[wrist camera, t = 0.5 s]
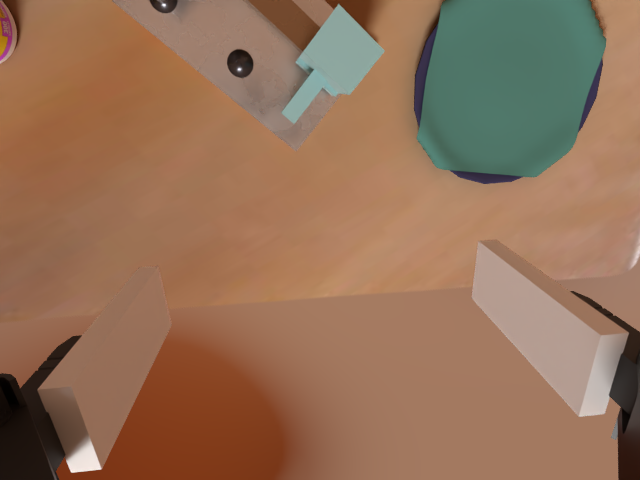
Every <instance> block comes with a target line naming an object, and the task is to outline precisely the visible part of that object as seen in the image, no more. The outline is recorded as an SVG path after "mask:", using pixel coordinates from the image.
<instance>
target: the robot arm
mask: <svg viewBox="0 0 640 480" xmlns="http://www.w3.org/2000/svg"><path fill="white" fill-rule="evenodd" d="M472 299H473V300H474V301H475V303H476V304H477V305H478V306H479V307H480V308H481V309H482V310H483V311H484V312H485V313H486V315H487V316H488V317H489V318H490V319H491V320H492V321H493V322H494V324H495V325H496V326H497V327H498V328H499V329H500V330H501V331H502V332H503V333H504V335H505V336H506V337H507V338H508V339H509V340H510V341H511V342H512V343H513V344H514V346H515V347H516V348H517V349H518V350H519V351H520V352H521V353H522V354H523V356H524V357H525V358H526V359H527V360H528V361H529V362H530V363H531V364H532V365H533V367H534V368H535V369H536V370H537V371H538V372H539V373H540V374H541V375H542V376H543V377H544V379H545V380H546V381H547V382H548V383H549V384H550V385H551V386H552V388H553V389H554V390H555V391H556V392H557V393H558V394H559V395H560V396H561V398H562V399H563V400H565V402H566V403H567V404H568V405H569V406H570V407H571V409H572V410H573V411H574V412H575V413H576V414H577V415H578V416H579V417H581V416H590V415H599V414H605V410H606V407H607V404H608V401H609V397H611V398H612V399H613V400H614V401H615V402H616V403H617V404H618V405H619V406H620V407H621V408H620V411H619V415H618V418H617V421H616V424H615V427H614V430H613V433H612V436H611V438H613V439H615V440H616V438H617V436H618V478H619V480H640V332H639V331H637V330H636V329H634V328H633V327H631V326H630V325H628V324H627V323H626V322H624V321H622V320H621V319H620V318H618V317H617V316H613V314H612V313H611V312H609V311H607V310H606V309H603V308H602V306H600V305H599V304H597V303H596V302H595V301H593V300H592V299H590V298H588V297H585V296H583V295H581V294H578V293H576V292H574V291H568V290H567V289H565V288H564V287H563V286H561V285H560V284H559V283H557V282H556V281H554V280H553V279H551V278H550V277H549V276H547V275H546V274H544V273H543V272H541V271H540V270H539V269H537V268H536V267H534V266H533V265H531V264H530V263H529V262H527V261H526V260H524V259H523V258H521V257H520V256H519V255H517V254H516V253H514V252H513V251H511V250H510V249H509V248H507V247H506V246H504V245H503V244H501V243H500V242H499V241H497V240H485V241H478V248H477V257H476V265H475V274H474V283H473V291H472ZM171 325H172V324H171V319H170V315H169V310H168V306H167V302H166V297H165V293H164V288H163V284H162V279H161V275H160V271H159V266H151V267H139V268H138V269H137V270H136V271H135V273H134V274H133V275H132V276H131V277H130V279H129V280H128V281H127V282H126V283H125V285H124V286H123V287H122V288H121V289H120V291H119V292H118V293H117V294H116V295H115V297H114V298H113V299H112V300H111V301H110V303H109V304H108V305H107V306H106V307H105V309H104V310H103V311H102V312H101V313H100V315H99V316H98V317H97V318H96V320H95V321H94V322H93V323H92V324H91V326H90V327H89V328H88V329H87V330H86V332H85V333H84V334H83V335H81V336H73V337H71V338H70V339H68V340H67V341H65V342H64V343H63V344H61V345H59V346H58V347H57V348H56V349H55V350H54V351H53V352H52V353H51V355H50V356H49V357H48V358H47V361H44V363H43V364H42V365H41V366H40V367H39V368H38V371H35V373H34V374H33V375H32V376H31V377H30V378H29V379H28V380H27V382H26V383H25V384H24V385H23V386H22V387H21V388H19V385H18V383H17V381H16V378H15V377H13V376H12V375H11V374H3V373H2V374H0V480H59V478H58V476H57V473H56V470H57V468H58V467H59V465H60V463H61V462H62V460H63V458H64V457H65V458H66V461H67V464H68V466H69V468H70V471H71V472H82V471H91V470H100V469H102V467H103V465H104V463H105V461H106V459H107V457H108V455H109V453H110V451H111V449H112V447H113V445H114V443H115V441H116V439H117V436H118V434H119V432H120V430H121V428H122V426H123V424H124V422H125V420H126V418H127V416H128V414H129V412H130V410H131V408H132V405H133V403H134V401H135V399H136V397H137V395H138V393H139V391H140V389H141V387H142V385H143V383H144V381H145V379H146V377H147V375H148V372H149V370H150V368H151V366H152V364H153V362H154V360H155V358H156V356H157V354H158V352H159V350H160V348H161V346H162V343H163V341H164V339H165V337H166V335H167V333H168V331H169V329H170V327H171Z"/></svg>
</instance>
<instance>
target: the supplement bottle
mask: <svg viewBox="0 0 640 480" xmlns="http://www.w3.org/2000/svg"><path fill="white" fill-rule="evenodd" d="M16 42H17V30H16V25H15V22H14V19H13V17H12V15H11V13H10V11H9V9H8V8H7V6H6V5H5V4H4V2H3V1H2V0H0V63H2V62H4V61H5V60H6V59H8V58H9V57H10V56H11V54H12V53H13V51H14V49H15V46H16Z"/></svg>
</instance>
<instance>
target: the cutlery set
mask: <svg viewBox="0 0 640 480" xmlns="http://www.w3.org/2000/svg"><path fill="white" fill-rule="evenodd" d="M591 4H592V2H591V1H590V0H445V1H443V2H442V5H441V11H440V18H439V22H438V24H437V25H436V27H435V28H434V30H433V31H432V33H431V34H430V36H429V38H428V39H427V41H426V43H425V46H424V49H423V52H422V56H421V59H420V62H419V65H418V68H417V71H416V75H415V95H414V111H415V115H416V118H417V122H418V126H419V131H418V135H417V140H418V142H419V143H420V144H421V145H422V147H423V149H424V150H425V151H426V153H427V154H428V156H429V157H430V159H431V160H432V162H433V164H434V165H435V166H436V167H437V168H440V169H443V170H450V171H451V172H453V173H454V174H456V175H457V176H458V177H460V178H464V179H468V180H472V181H475V182H479V183H483V184H489V183H501V182H512V181H514V180H517V179H519V178H521V177H537V176H538V175H540V174H541V173H542V172H543V171H545V170H546V169H547V168H549V167H550V166H551V165H553V164H554V163H555V162H557V161H558V160H559V159H561V158H562V157H563V156H564V155H566V154H567V153H568V152H569V151H570V150H571V148H572V147H573V145H574V143H575V141H576V138H577V134H578V132H579V131H580V129H581V128H582V127H583V124H584V122H585V120H586V118H587V116H588V114H589V112H590V110H591V108H592V105H593V103H594V101H595V99H596V96H597V91H598V86H599V81H600V76H601V71H602V66H603V61H602V56H603V53H604V50H605V47H606V38H605V37H604V36H603V30H602V29H601V28H600V27H599V20H598V19H597V18H596V17H595V11H594V10H593V9H592V8H591Z"/></svg>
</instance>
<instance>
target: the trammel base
mask: <svg viewBox="0 0 640 480" xmlns="http://www.w3.org/2000/svg"><path fill="white" fill-rule="evenodd" d="M113 2H114V3H115V4H116V5H118V6H119V7H120V8H121V9H123V10H124V11H125V12H126V13H127V14H129V15H130V16H131V17H132V18H134V19H135V20H136V21H137V22H138V23H140V24H141V25H142V26H143V27H145V28H146V29H147V30H148V31H149V32H151V33H152V34H153V35H154V36H156V37H157V38H158V39H159V40H160V41H162V42H163V43H164V44H165V45H167V46H168V47H169V48H170V49H171V50H173V51H174V52H175V53H176V54H178V55H179V56H180V57H181V58H182V59H184V60H185V61H186V62H187V63H189V64H190V65H191V66H192V67H193V68H195V69H196V70H197V71H198V72H200V73H201V74H202V75H203V76H204V77H206V78H207V79H208V80H209V81H211V82H212V83H213V84H214V85H215V86H217V87H218V88H219V89H220V90H222V91H223V92H224V93H225V94H226V95H228V96H229V97H230V98H231V99H233V100H234V101H235V102H236V103H237V104H239V105H240V106H241V107H242V108H244V109H245V110H246V111H247V112H248V113H250V114H251V115H252V116H253V117H255V118H256V119H257V120H258V121H259V122H261V123H262V124H263V125H264V126H266V127H267V128H268V129H269V130H270V131H272V132H273V133H274V134H275V135H277V136H278V137H279V138H280V139H281V140H283V141H284V142H285V143H286V144H288V145H289V146H290V147H291V148H292V149H294V150H295V151H297V150H298V148H299V147H300V146H301V145H302V143H303V142H304V141H305V140H306V138H307V137H308V136H309V135H310V133H311V132H312V131H313V130H314V128H315V127H316V126H317V125H318V123H319V122H320V121H321V120H322V118H323V117H324V116H325V114H326V113H327V112H328V111H329V109H330V108H331V107H332V106H333V104H334V103H335V102H336V101H337V99H338V98H339V97H340V96H341V94H339V93H338V94H337V96H336V97H335V96H331V95H330V94H329V93H328V92H327V91H326V90H325V89H324V88H322V89H321V90H320V92H319V93H318V94H317V95H316V97H315V98H314V99H313V101H312V102H311V103H310V104H309V106H308V107H307V108H306V110H305V111H304V112H303V113H302V115H301V116H300V117H299V119H298V120H297V121H296V122H295V124H293V123H292V122H291V121H290V120H289V119H287V118H286V117H285V116H284V115H283V114H282V113H281V111H282V110H283V109H284V108H285V106H286V105H287V104H288V102H289V101H290V100H291V98H292V97H293V96H294V94H295V93H296V92H297V90H298V89H299V88H300V86H301V85H302V84H303V82H304V81H305V80H306V79H307V77H308V76H309V75H308V74H307V73H306V72H305V71H304V70H303V69H302V68H301V67H300V66H299V65H297V64H296V63H295V62H296V61H297V59H298V58H299V57H300V55H301V54H302V53H303V51H304V50H305V49H306V47H307V46H308V44H309V43H310V42H311V40H312V39H313V38H314V36H315V35H316V34H317V32H318V31H319V30H320V28H321V27H322V26H323V24H324V23H325V22H326V20H327V19H328V18H329V16H330V15H331V14H332V12H333V11H334V9H333V8H332V7H331V6H330V5H329V4H328V3H327V2H326V1H325V0H113Z"/></svg>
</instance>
